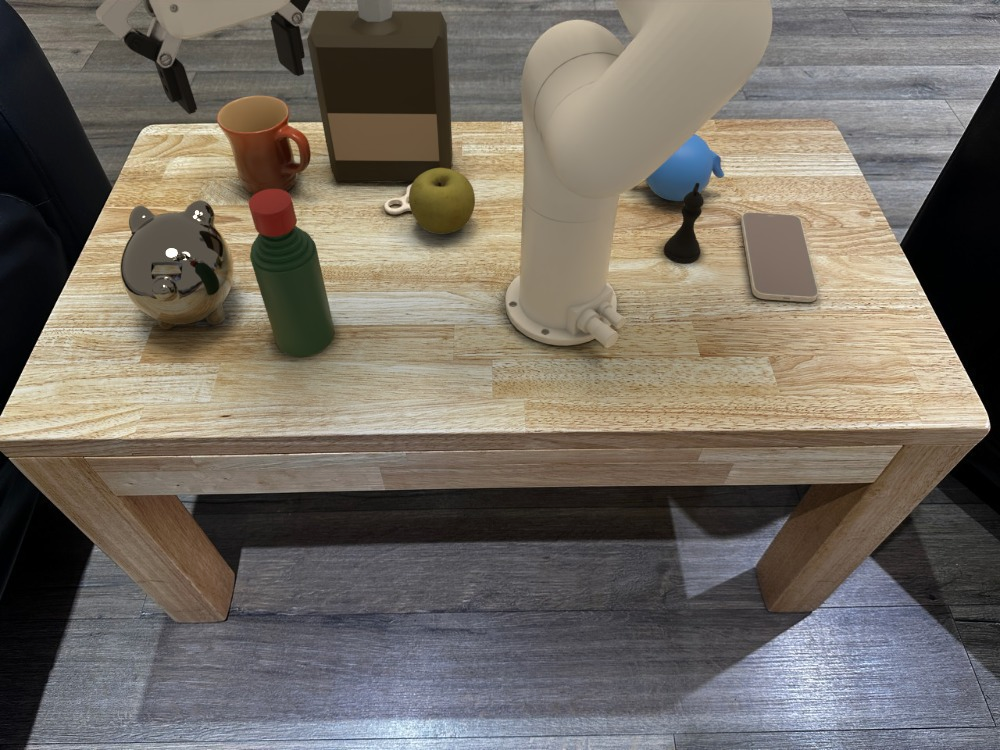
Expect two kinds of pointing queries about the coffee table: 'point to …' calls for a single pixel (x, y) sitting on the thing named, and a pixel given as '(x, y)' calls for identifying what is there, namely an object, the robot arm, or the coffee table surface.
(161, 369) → the coffee table surface
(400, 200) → the fidget spinner
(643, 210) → the coffee table surface
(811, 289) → the smartphone
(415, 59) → the bottle
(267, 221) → the cap
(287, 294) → the sauce bottle
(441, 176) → the apple
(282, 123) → the mug
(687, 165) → the blue mole toy
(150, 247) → the piggy bank
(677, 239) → the chess piece
